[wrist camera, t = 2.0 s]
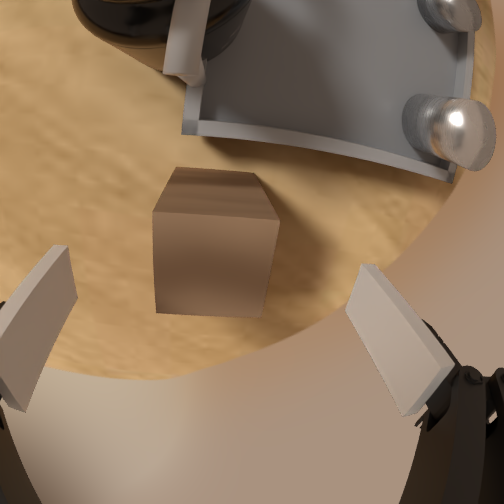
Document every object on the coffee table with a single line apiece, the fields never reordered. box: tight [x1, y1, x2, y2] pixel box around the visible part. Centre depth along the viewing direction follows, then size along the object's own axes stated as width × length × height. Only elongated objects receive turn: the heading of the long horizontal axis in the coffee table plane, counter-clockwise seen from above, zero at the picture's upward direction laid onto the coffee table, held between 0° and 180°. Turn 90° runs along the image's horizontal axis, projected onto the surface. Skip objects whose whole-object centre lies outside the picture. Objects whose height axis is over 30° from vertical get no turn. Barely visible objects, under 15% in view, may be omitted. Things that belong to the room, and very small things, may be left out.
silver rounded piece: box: [402, 94, 496, 171], centre depth 13 cm, size 4×4×5 cm
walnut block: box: [153, 167, 280, 317], centre depth 16 cm, size 5×5×8 cm
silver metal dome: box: [417, 0, 482, 34], centre depth 10 cm, size 4×4×3 cm
